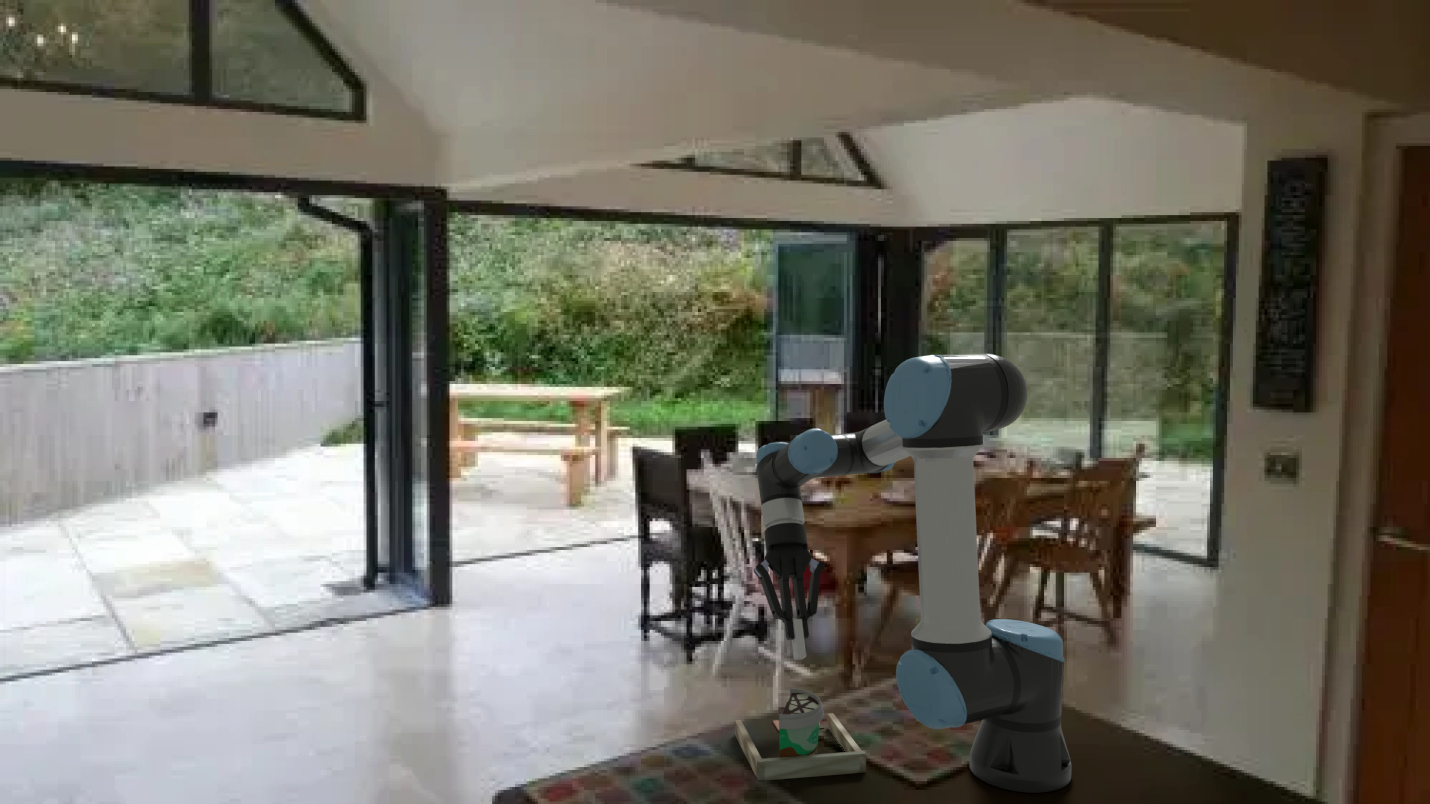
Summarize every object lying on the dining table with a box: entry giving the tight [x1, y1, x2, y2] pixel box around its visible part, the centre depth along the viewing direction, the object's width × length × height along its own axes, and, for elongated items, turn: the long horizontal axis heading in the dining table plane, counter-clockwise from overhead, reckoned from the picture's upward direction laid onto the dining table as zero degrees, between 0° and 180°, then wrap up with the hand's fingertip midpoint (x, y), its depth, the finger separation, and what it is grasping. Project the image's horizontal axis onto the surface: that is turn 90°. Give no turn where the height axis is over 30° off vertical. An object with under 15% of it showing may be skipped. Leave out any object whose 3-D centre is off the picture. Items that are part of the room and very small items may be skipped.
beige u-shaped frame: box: [734, 712, 867, 781], centre depth 176 cm, size 18×17×3 cm
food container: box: [778, 687, 825, 757], centre depth 172 cm, size 12×6×10 cm, turn 167°
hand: (800, 658), depth 189 cm, fingers closed
